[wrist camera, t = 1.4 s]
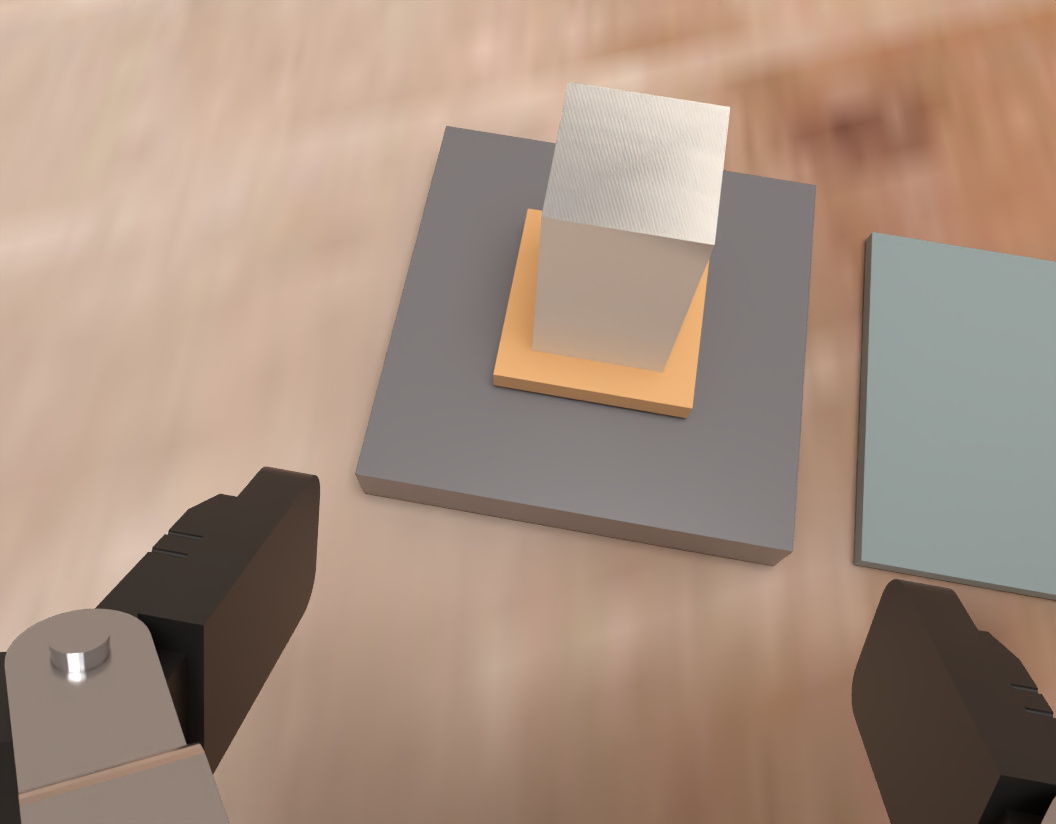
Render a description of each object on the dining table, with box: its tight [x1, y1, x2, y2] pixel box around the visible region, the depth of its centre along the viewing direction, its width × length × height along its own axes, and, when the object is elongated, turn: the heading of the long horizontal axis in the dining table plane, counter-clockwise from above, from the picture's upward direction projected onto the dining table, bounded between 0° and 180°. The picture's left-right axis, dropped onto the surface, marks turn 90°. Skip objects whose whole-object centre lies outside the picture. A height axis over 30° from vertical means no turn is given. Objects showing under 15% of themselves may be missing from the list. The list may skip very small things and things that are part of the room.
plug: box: [493, 82, 730, 418], centre depth 26 cm, size 6×6×10 cm
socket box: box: [355, 126, 816, 566], centre depth 29 cm, size 13×13×2 cm
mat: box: [854, 232, 1056, 600], centre depth 29 cm, size 12×12×1 cm
